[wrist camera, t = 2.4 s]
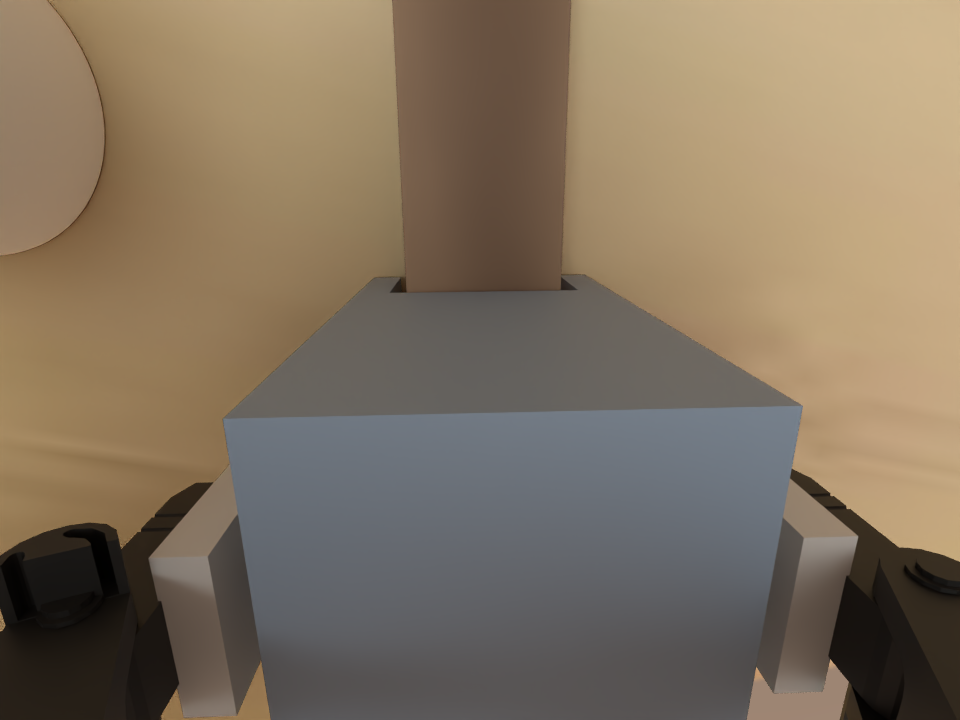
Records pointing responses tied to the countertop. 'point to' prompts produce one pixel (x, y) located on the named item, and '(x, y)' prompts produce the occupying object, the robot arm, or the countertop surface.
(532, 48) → the rail
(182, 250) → the countertop surface
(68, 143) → the cup
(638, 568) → the block
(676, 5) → the countertop surface
